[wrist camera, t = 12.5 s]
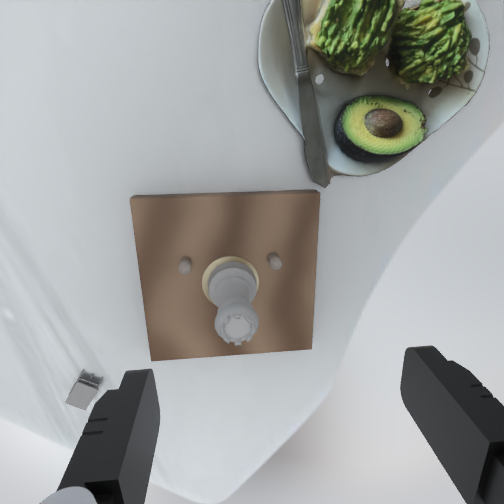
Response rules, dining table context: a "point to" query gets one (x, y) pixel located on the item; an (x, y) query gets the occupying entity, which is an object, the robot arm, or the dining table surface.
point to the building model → (82, 393)
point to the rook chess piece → (234, 301)
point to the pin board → (219, 252)
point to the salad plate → (370, 75)
